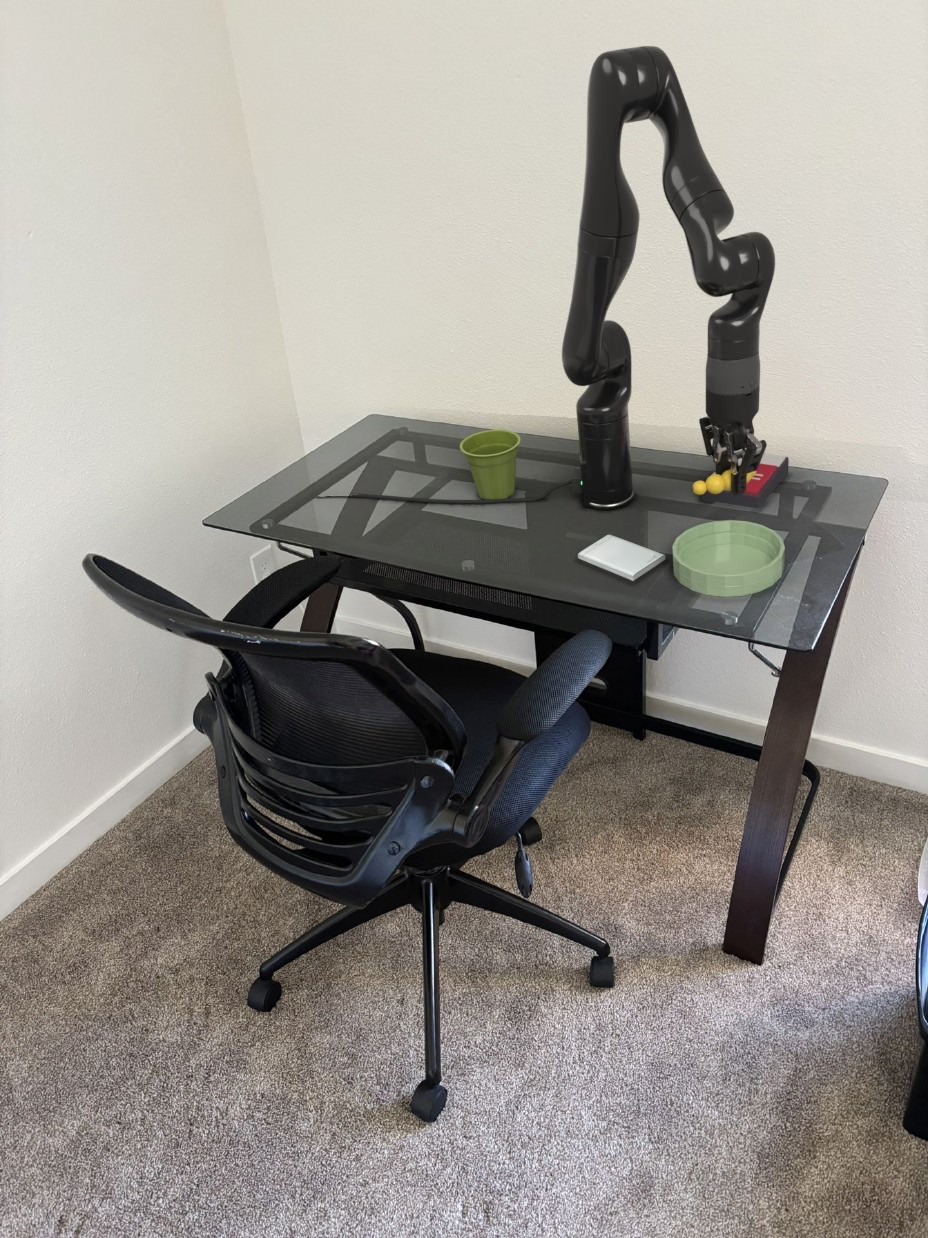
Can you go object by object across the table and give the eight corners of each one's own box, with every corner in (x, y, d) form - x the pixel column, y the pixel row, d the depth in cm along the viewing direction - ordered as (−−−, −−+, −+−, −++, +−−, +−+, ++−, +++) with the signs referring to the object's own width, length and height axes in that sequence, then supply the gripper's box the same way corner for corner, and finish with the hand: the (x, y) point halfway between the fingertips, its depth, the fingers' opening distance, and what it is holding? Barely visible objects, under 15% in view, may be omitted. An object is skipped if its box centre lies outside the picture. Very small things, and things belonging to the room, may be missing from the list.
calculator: (699, 484, 171) (732, 445, 180) (700, 504, 173) (732, 465, 182) (758, 493, 165) (789, 453, 174) (758, 514, 167) (789, 473, 176)
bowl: (676, 603, 148) (676, 579, 145) (670, 547, 162) (669, 524, 159) (791, 596, 144) (792, 571, 142) (774, 539, 158) (775, 516, 156)
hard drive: (665, 554, 157) (609, 532, 166) (632, 575, 153) (577, 552, 162) (665, 562, 158) (610, 540, 166) (633, 584, 154) (578, 560, 163)
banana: (705, 504, 142) (705, 485, 140) (689, 493, 146) (689, 474, 144) (768, 482, 145) (769, 463, 143) (751, 471, 148) (752, 453, 147)
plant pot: (482, 514, 182) (473, 461, 176) (459, 491, 192) (450, 440, 185) (537, 495, 185) (530, 443, 179) (512, 474, 194) (505, 423, 188)
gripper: (682, 375, 140) (684, 479, 149) (740, 403, 129) (738, 514, 138) (725, 362, 142) (724, 466, 151) (786, 388, 130) (780, 499, 140)
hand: (730, 488), depth 145 cm, fingers closed on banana, 3 cm apart
